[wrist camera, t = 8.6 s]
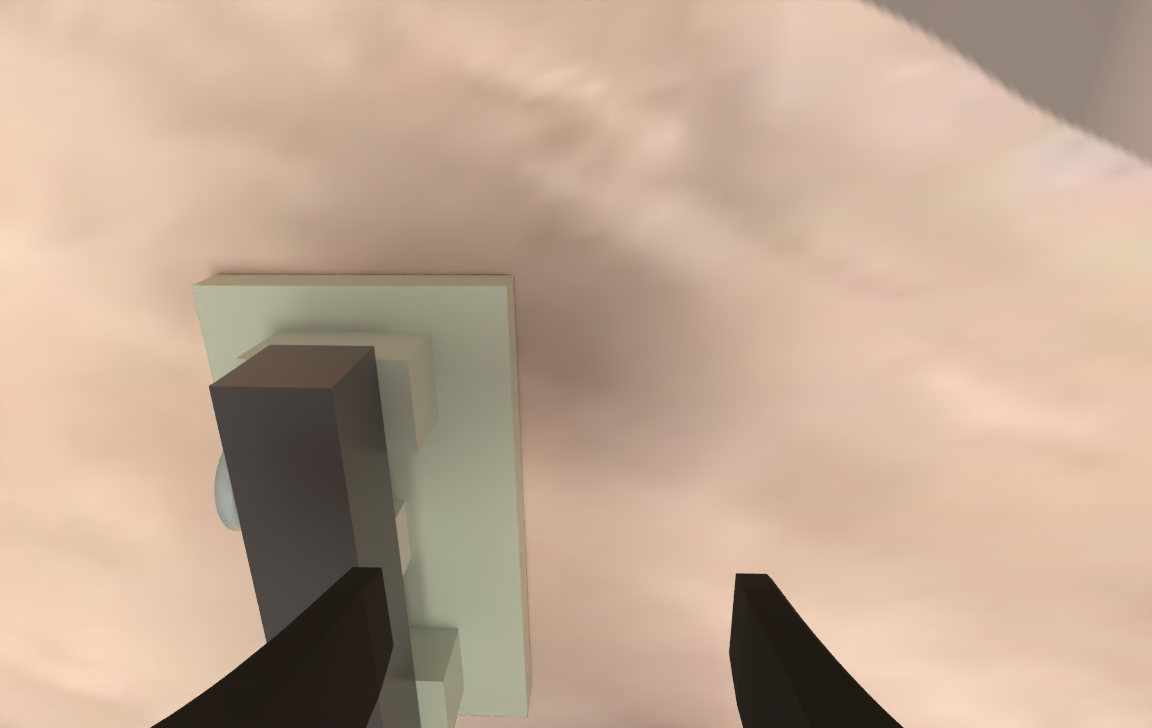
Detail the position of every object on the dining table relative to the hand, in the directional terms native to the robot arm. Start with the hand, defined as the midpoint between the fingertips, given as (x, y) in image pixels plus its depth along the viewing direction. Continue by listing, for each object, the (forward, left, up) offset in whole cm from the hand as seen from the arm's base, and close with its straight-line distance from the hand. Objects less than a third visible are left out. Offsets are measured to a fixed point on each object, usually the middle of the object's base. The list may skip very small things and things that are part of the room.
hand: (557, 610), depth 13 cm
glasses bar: (-5, +7, -6) cm, 11 cm away
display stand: (-5, +7, -10) cm, 13 cm away
